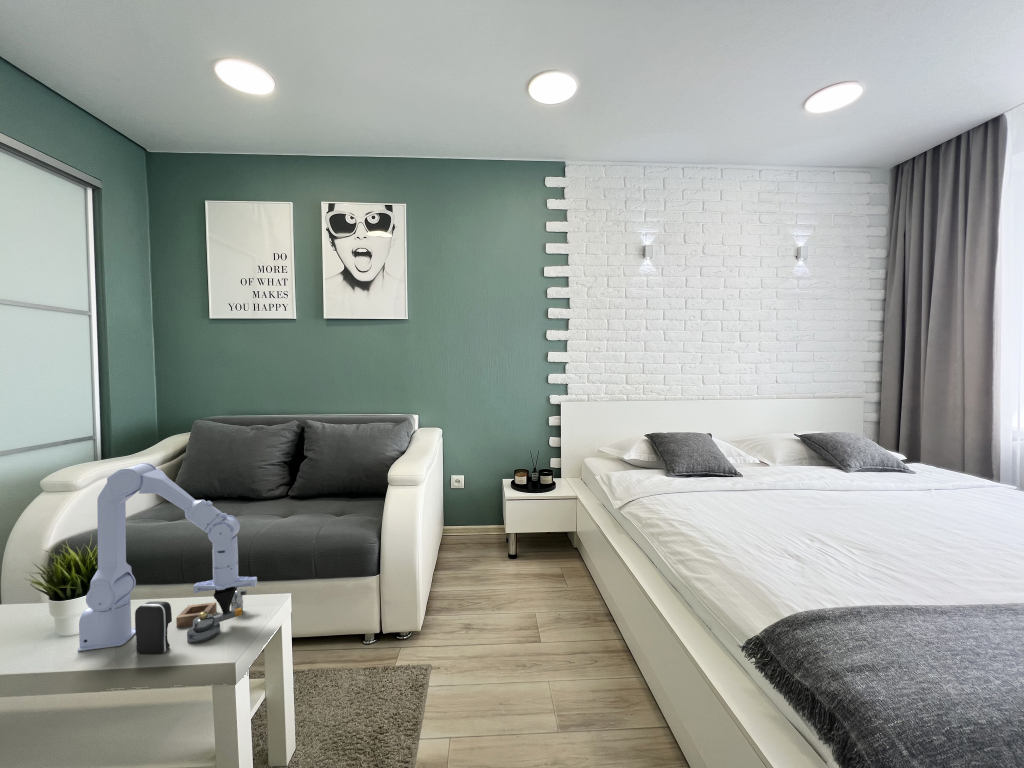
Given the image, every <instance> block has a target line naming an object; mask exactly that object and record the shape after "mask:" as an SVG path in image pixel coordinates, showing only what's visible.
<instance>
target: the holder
mask: <svg viewBox="0 0 1024 768" xmlns="http://www.w3.org/2000/svg"><path fill="white" fill-rule="evenodd" d="M217 609H218V608H217V601H214V602H206V603H197V604H191V605H189V604H188V605H187V607H185V608H184V609H183V610H182V611H181V612H180V613H179V614H178V615H177V617H175V618H176V620H175V621H176V628H184V627H191V626H192V627H193V620H194V619H195V618H197V617H199V613H200V612H202V611H208V614H212V615H214V616H215V615H216V613H217V611H218V610H217Z"/></svg>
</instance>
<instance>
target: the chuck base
mask: <svg viewBox="0 0 1024 768" xmlns="http://www.w3.org/2000/svg"><path fill="white" fill-rule="evenodd" d="M207 617H208V611H202V612H200V613H199V619H205V618H207ZM220 634H221V622H218V623H215V624H214V626H213V627H212V628H210V629H208V630H205V631H201V632H195V631H193V626H192V627H190V628H189V629H188V630H187V631H186V642H187V643H188V644H191V645H199V644H203V643H207V642H209V641H212V640H214V639H216V638H217V637H219V635H220Z"/></svg>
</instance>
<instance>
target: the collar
mask: <svg viewBox="0 0 1024 768" xmlns="http://www.w3.org/2000/svg"><path fill="white" fill-rule="evenodd" d="M240 616H243V612H242V609H241V608H237V609H234V610H232V611H231V610H230V611H229V612H225V613H223V612H221V613H219V614H217V615H216V614H214V615H212V614H208V617H207V618H205V619H199V617H197V618H195V619H194V620H193V625H192V627H193V631H195V632H201V631H205V630H208V629H210V628H212V627H213V626H214V624H215V623H218V622H219V623H221V622H224V621H227V620H230V619H233V618H237V617H240Z"/></svg>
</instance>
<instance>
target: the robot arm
mask: <svg viewBox="0 0 1024 768" xmlns="http://www.w3.org/2000/svg"><path fill="white" fill-rule="evenodd" d="M106 478H107V479H106V484H105V485H104V487H103V488H102V490H101V491H100V493H99V494H98V496H97V505H96V506H97V509H96V511H97V570H96V572H95V574H93V577H92V579H91V580H90V584H89V590H88V591H87V594H86V596H85V602H86V603H85V604H86V605H87V606H88V607H87V608H85V609H84V610H83V611H82V613H81V615H80V618H79V622H78V631H79V632H78V633H79V634H78V636H79V637H78V638H79V639H78V641H79V648H77V651H78V652H82V651H90V650H96V649H104V648H105V649H106V648H111V647H119V646H123V645H125V643H127V641H129V640H130V639H131V638H132V637H133V636H134V635H136V631H135V627H133V628H132V608H131V607H132V606H131V605H132V604H131V603H132V601H131V600H132V599H131V592H132V591H133V590H134V589H135V587H136V584H137V581H136V578H135V576H134V574H133V571H132V565H130V564H128V562H127V544H126V543H127V535H126V533H127V529H126V528H127V526H126V525H127V519H126V513H127V512H126V511H127V510H126V509H127V508H126V506H127V505H126V502H127V501H128V500H129V499H130V498H132V497H133V496H134V495H136V494H137V492H138V494H143V495H144V494H146V495H148V494H156V495H158V496H160V497H162V498H163V499H164V500H167V501H168V502H170V503H171V504H173V505H175V506H176V507H178V508H179V509H181V510H183V511H184V517H185V519H187V520H188V521H189V522H191V523H192V524H194V525H195V526H196V527H198V528H199V529H201V530H202V531H203V532H205V533H207V538H208V540H209V541H210V542H211V543H212V551H211V552H212V579H211V580H206V581H200V582H196V583H195V584H194V585H193V594H197V593H199V592H208V591H214V593H213V599H215V601H216V603H218V605H219V607H220V609H221V613H225V612H229V611H231V602H232V599H233V596H234V594H235V592H236V590H237V589H238V588H244V587H246V588H247V587H251V588H255V587H256V586H257V585H258V577H257V576H239V547H238V546H239V545H238V535H237V534H238V533H239V531H240V530H241V522H240V520H239V519H238V518H237V517H236V516H235V515H228V513H227V512H224V513H223V512H222V511H221V510H219V509H218V508H216V507H215V506H213V502H212V501H211V500H207V501H206V500H205V499H195V498H194V497H193V496H191V495H190V494H189V493H188V492H187V491H185V490H184V489H183V488H181V486H179V485H178V484H177V483H175V482H174V481H172V479H170V478H169V477H168V476H167V475H166V473H164V471H163V470H161V469H160V468H157V467H156V466H155V465H154V464H152V463H149V462H141V463H138V464H136V465H133V466H130V467H127V468H125V467H124V468H121V469H119V470H116V471H115V472H114V473H112V474H111V475H110V476H108V477H106Z"/></svg>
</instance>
